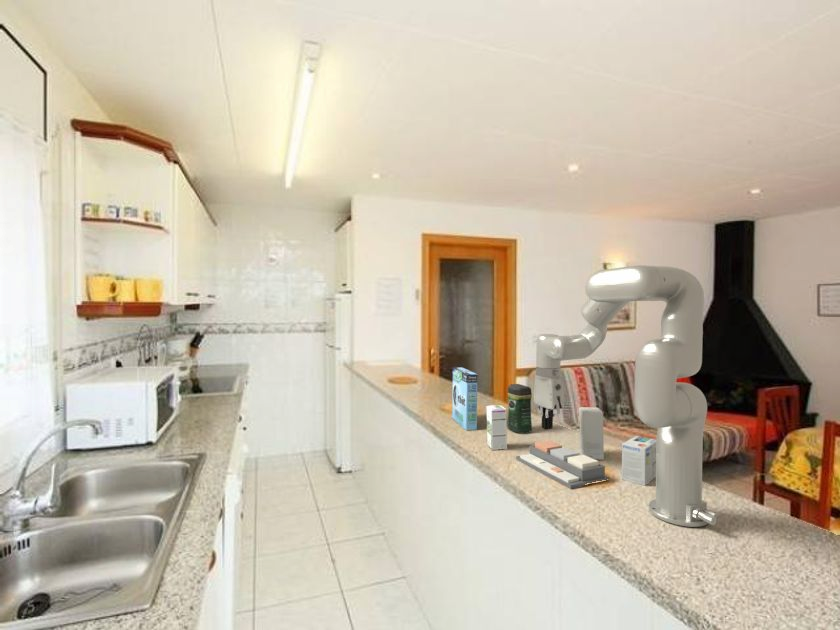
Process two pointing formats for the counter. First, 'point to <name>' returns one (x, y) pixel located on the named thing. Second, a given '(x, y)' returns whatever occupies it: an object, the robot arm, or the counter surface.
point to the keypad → (561, 469)
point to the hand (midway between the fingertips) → (547, 428)
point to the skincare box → (591, 432)
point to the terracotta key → (547, 446)
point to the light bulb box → (639, 460)
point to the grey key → (563, 453)
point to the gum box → (464, 398)
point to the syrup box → (496, 427)
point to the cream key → (583, 461)
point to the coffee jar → (519, 408)
